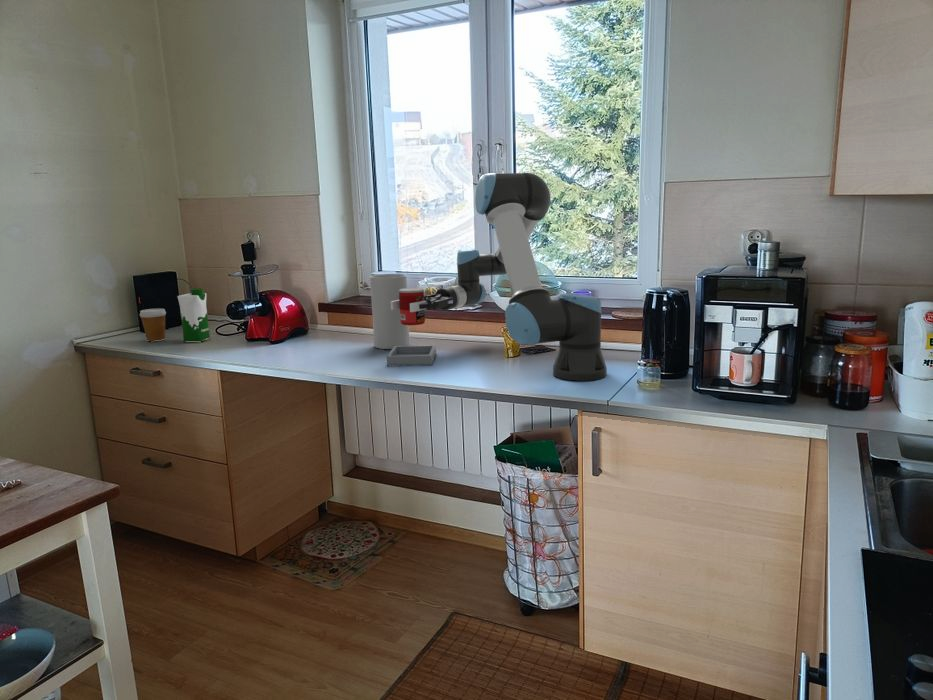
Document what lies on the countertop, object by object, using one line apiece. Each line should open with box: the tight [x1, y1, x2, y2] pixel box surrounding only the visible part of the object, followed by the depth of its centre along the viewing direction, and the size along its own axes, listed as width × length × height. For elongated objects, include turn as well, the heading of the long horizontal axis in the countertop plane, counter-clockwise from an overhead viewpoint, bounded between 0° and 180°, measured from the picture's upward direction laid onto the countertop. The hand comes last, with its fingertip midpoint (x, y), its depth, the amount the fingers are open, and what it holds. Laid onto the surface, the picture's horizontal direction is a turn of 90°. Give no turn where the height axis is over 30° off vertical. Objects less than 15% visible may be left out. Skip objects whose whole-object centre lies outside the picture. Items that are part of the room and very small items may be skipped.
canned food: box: [399, 287, 426, 326], centre depth 221 cm, size 8×8×11 cm
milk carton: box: [176, 288, 211, 342], centre depth 263 cm, size 9×9×20 cm
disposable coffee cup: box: [138, 307, 167, 341], centre depth 267 cm, size 10×10×12 cm
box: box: [386, 344, 437, 367], centre depth 223 cm, size 16×14×3 cm
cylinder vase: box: [369, 273, 410, 350], centre depth 242 cm, size 12×12×25 cm
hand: (401, 306), depth 217 cm, fingers closed on canned food, 8 cm apart
